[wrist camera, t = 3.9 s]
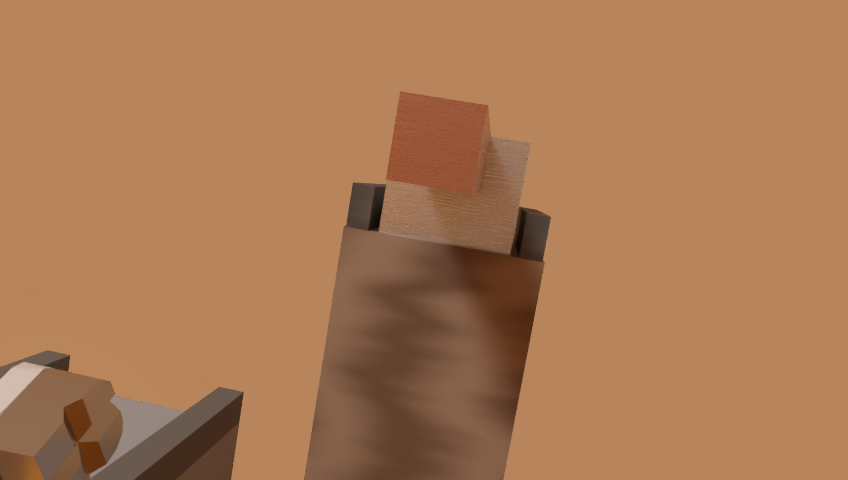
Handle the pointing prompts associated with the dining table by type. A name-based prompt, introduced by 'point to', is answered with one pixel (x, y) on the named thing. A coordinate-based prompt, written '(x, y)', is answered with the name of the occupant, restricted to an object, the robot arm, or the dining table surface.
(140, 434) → the grey post
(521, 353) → the tall post
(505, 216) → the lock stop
